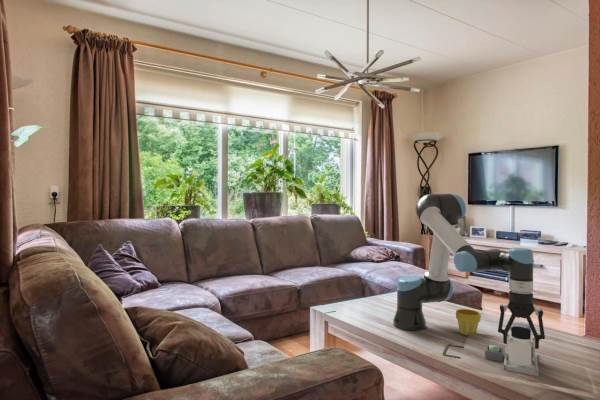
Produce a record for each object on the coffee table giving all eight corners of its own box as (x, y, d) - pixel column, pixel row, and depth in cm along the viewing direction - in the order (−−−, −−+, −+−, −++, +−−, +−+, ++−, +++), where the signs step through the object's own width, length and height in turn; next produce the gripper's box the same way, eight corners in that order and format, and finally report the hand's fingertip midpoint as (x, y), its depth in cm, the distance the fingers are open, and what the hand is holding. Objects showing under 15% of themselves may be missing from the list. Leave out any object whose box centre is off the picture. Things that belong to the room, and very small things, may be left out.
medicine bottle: (532, 366, 136) (532, 332, 136) (508, 362, 140) (508, 328, 139) (532, 359, 142) (532, 326, 142) (510, 355, 146) (510, 323, 146)
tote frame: (442, 355, 154) (442, 354, 154) (447, 344, 166) (447, 343, 166) (477, 361, 148) (477, 360, 148) (479, 350, 159) (479, 349, 159)
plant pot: (480, 331, 181) (480, 310, 181) (480, 338, 172) (480, 316, 172) (456, 328, 186) (456, 307, 186) (455, 335, 176) (455, 313, 176)
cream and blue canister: (509, 358, 148) (509, 326, 148) (510, 351, 154) (510, 321, 154) (530, 362, 145) (530, 329, 144) (531, 355, 151) (531, 324, 150)
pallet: (483, 370, 141) (483, 358, 141) (487, 349, 160) (487, 338, 160) (542, 381, 132) (542, 369, 132) (539, 357, 152) (539, 346, 152)
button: (488, 355, 149) (488, 347, 149) (489, 351, 152) (489, 344, 152) (499, 356, 147) (499, 348, 147) (499, 353, 150) (499, 345, 150)
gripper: (489, 290, 142) (488, 353, 142) (555, 297, 132) (555, 364, 133) (490, 286, 149) (490, 346, 149) (553, 292, 139) (553, 356, 139)
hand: (520, 354), depth 141 cm, fingers closed on medicine bottle, 7 cm apart
